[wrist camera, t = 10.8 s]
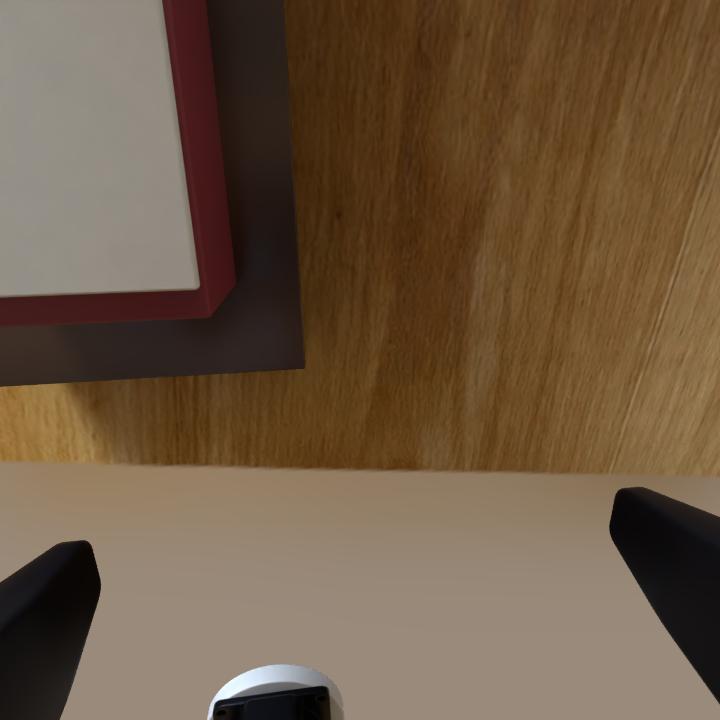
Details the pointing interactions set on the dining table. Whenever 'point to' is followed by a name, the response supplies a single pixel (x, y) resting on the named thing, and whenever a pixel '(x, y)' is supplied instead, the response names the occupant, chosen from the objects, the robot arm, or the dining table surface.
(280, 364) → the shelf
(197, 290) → the red white box
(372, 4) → the dining table surface
